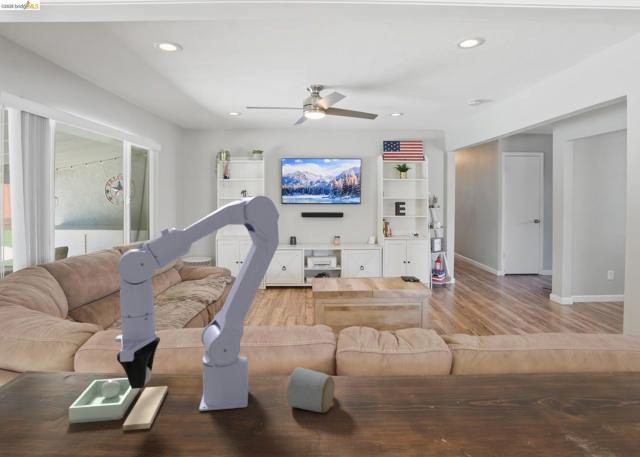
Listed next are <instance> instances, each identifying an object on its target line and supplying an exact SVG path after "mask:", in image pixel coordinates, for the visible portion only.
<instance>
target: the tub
mask: <svg viewBox="0 0 640 457" xmlns="http://www.w3.org/2000/svg"><path fill="white" fill-rule="evenodd" d="M108 380H116V381H117V382H118V383H119V384H120V391H119V393H118V394H117V395H116V396H115V397H113V398H105V397H103V396H102V394H101V387H102V385H103V384H104V383H105V382H106V381H108ZM140 389H141V388H135V389H132V388H131V386H130V383H129V380H128V377H122V378H121V377H119V378H107V379H102V378H101V379H94V380H93V381H92V382H91V383H90V384H89V386H87V388H85V389H84V391H83V392H82V393H81V394H80V395H79V397H77V399H76V400H74V401H73V403H72V404H71V405H70V406H69V407H68V419H69V421H68V422H69V424H78V423H79V424H80V423H89V422H90V423H91V422H102V421H112V420H113V421H114V420H122V419H123V417H124V416H125V414H126V413H127V411H128V409H129V408H130V407H131V405H132V403H133V401H134V400H135V398H136V397H137V395H138V394H139V392H140Z"/></svg>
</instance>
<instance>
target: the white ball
mask: <svg viewBox="0 0 640 457" xmlns="http://www.w3.org/2000/svg"><path fill="white" fill-rule="evenodd" d="M119 391H120V384H119V383H118V382H117V381H116V380H108V381H106V382H105V383H104V384H103V385H102V387H101V394H102V396H103V397H105V398H113V397H115V396H116V395H117V394H118V393H119Z"/></svg>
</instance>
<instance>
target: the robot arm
mask: <svg viewBox="0 0 640 457" xmlns="http://www.w3.org/2000/svg"><path fill="white" fill-rule="evenodd" d="M279 218H280V214H279V211H278V209H277V207H276V205H275V203H274V201H273V200H272V199H271V198H269V197H268V196H265V195H257V196H254V195H245V196H243V197H241V198H240V199H239V200H238V199H237V200H234V201H231V202H228V203H227V204H225V205H222V206H221V207H219V208H218V209H216V210H214V211H212V212H211V213H209V214H208V215H205V216H204V217H203V218H201V219H199V220H197V221H196V222H194V223H191V224H190V225H189V226H187V227H185V228H184V229H181V228H177V227H171V228H170V229H168V228H167V227H165V228H163V229H161V230H160V234H158V235H156V236H155V237H153V238H151V239H150V240H148V241H146V242H144V243H143V242H142V241H141V242H138V243H137V245H136V246H137V248H132V249H129V250H127V251H125V252H123V253H122V255H121V256H120V258H119V260H118V264H117V271H118V274H119V277H120V280H119V287H120V290H119V303H120V305H119V306H120V320H121V325H120V326H121V334H119V335H117V336H116V337H115V342H116V343H121V349H120V350H119V352H118V353H117V354H116V360H117V362H118V363H119V364H120V365H121V367H122V368H123V370H124V371H125V375H126V376H127V377H126V378H128V380H129V383H130V386H131V388H132V389H135V388H140V389H143V388H144V387H145V384H146V383H145V379H146V369H147V367H148V368H149V369H150V371H151V372H152V370H153V364H154V359H155V354H156V352H157V348H158V346H159V344H160V341H161V338H160V337H159V336H158V337H157V335H158V334H157V331H156V322H155V321H156V319H155V316H156V314H155V297H154V287H153V285H152V284H153V282H152V276H153V274H154V271H155V270H161V269H163V268H165V267H166V266H168V265H170V264H171V263H174V262H176V261H177V260H178V259H180V258H182V257H184V256H185V255H187V254H188V253H190V250H191V247H192V244H194V243H195V242H198V241H199V240H201V239H203V238H205V237H207V236H209V235H211V234H213V233H215V232H217V231H219V230H220V229H222V228H224V227H226V226H229V225H240V226H241V225H242V226H244V227H245V228H246V230H247V232H248V234H249V237H250V239H251V241H252V244H251V246H250V248H249V250H248V253H247V254H246V257H245V259H244V261H243V262H242V265H241V267H240V270H239V272H238V274H237V276H236V278H235V280H234V282H233V284H232V287H231V289H230V291H229V292H228V295H227V298H226V299H225V302H224V304H223V305H222V308H221V309H220V310H219V311H218V312H217V313H216V314H215V315H214V317H213V319H212V320H211V322H210V323H209V324H208V325H206V326H205V327H204V329H203V330H202V333H201V338H200V339H201V343H202V345H203V347H204V348H205V353H204V355H203V357H202V388H203V393H202V397H201V400H200V404H199V407H198V410H199V411H200V412H203V411H204V412H205V411H206V412H207V411H214V410H215V411H216V410H229V409H237V408H238V409H239V408H247V407H248V403H249V402H248V401H249V400H248V399H249V393H250V390H251V389H250V388H251V387H250V382H249V360H248V359H249V358H248V357H247V356H241V355H240V353H241V340H242V337H243V335H244V327H245V325H244V320H245V318H246V316H247V314H248V312H249V310H250V309H251V308H250V307H251V306H252V304H253V301H254V299H255V297H256V295H257V292H258V290H259V288H260V286H261V284H262V282H263V280H264V277H265V275H266V273H267V271H268V269H269V266H270V265H271V262H272V260H273V257H274V255H275V253H276V251H277V249H278V247H279V243H280V240H279V239H280V237H279V223H278V222H279Z"/></svg>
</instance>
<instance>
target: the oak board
mask: <svg viewBox="0 0 640 457" xmlns="http://www.w3.org/2000/svg"><path fill="white" fill-rule="evenodd" d="M168 388H169V387H168V385H161V386H148V387H145V388H144V389H143V391H142V393H141V395H140V396H139V398H138V400H137V401H136V403H135V405H134V406H133V408H132V409H131V411H130V413H129V414H128V416H127V418H126V419H125V421H124V423H123V424H122V431H132V430H143V429H144V430H145V429H151V426H152V425H153V422H154V420H155V418H156V416H157V413H158V411H159V409H160V407H161V405H162V403H163V401H164V399H165V397H166V396H167V393H168V391H169V389H168Z"/></svg>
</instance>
